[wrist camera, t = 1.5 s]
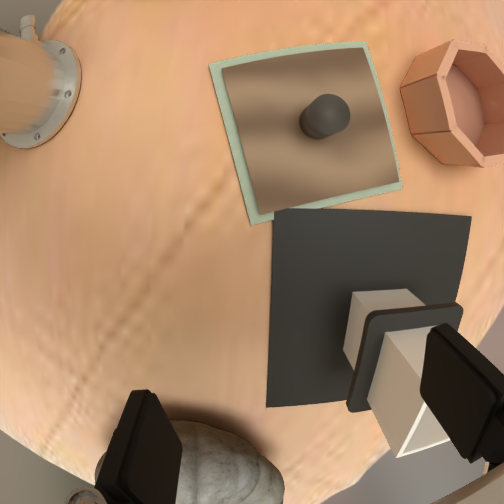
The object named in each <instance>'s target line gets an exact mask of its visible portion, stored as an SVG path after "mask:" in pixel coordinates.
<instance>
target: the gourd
mask: <svg viewBox="0 0 504 504" xmlns="http://www.w3.org/2000/svg"><path fill="white" fill-rule="evenodd" d="M169 421H170V423H171V424H172V426H173V428H174V430H175V432H176V433H177V435H178V437H179V439H180V441H181V443H182V447H183V452H182V459H181V466H180V473H179V481H178V488H177V496H176V504H283V495H284V490H285V488H284V481H283V478H282V475H281V473H280V471H279V470H278V469H277V468H276V467H275V466H274V465H273V464H272V463H271V462H270V461H268V460H267V459H266V458H265V457H264V456H262V455H261V454H260V453H259V452H257V451H256V449H255V448H254V447H253V446H252V445H251V444H250V443H249V442H247V441H245V440H243V439H242V438H240V437H239V436H237V435H235V434H233V433H230V432H227V431H224V430H219V429H217V428H214V427H212V426H208V425H206V424H204V423H200V422H192V421H188V420H186V421H185V420H183V421H182V420H179V421H175V420H169ZM108 447H109V446H108ZM107 450H108V449H107ZM106 452H107V451H106ZM106 452H105V453H104V454H103V456H102V457H101V458H100V460H99V462H98V464H97V467H96V470H95V484H96V481H97V478H98V475H99V472H100V469H101V466H102V464H103V461H104V458H105V455H106Z"/></svg>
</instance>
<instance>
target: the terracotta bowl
mask: <svg viewBox="0 0 504 504" xmlns="http://www.w3.org/2000/svg"><path fill="white" fill-rule="evenodd" d="M400 91H401V95H402V99H403V103H404V107H405V111H406V115H407V119H408V123H409V128H410V132H411V134H412V136H413V137H414V138H415V139H416V140H417V141H419V142H420V143H421V144H422V145H423V146H424V147H425V148H426V149H427V150H428V151H429V152H430V153H431V154H433V155H434V156H435V157H436V158H437V159H438V160H439V161H440V162H441V163H443V164H451V165H463V166H473V167H482V168H484V167H489V166H495V165H500V164H504V66H503V65H502V64H501V62H500V61H499V60H498V59H497V58H496V56H495V55H494V54H493V53H492V52H491V51H490V49H489V48H488V47H487V46H485V45H484V44H479V43H473V42H466V41H459V40H451V41H449V42H447V43H444V44H442V45H440V46H438V47H436V48H434V49H431V50H429V51H427V52H425V53H423V54H421V55H419V56H417V57H416V58H415V60H414V62H413V64H412V66H411V68H410V69H409V71H408V73H407V75H406V77H405V79H404V80H403V82H402V84H401V86H400Z"/></svg>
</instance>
